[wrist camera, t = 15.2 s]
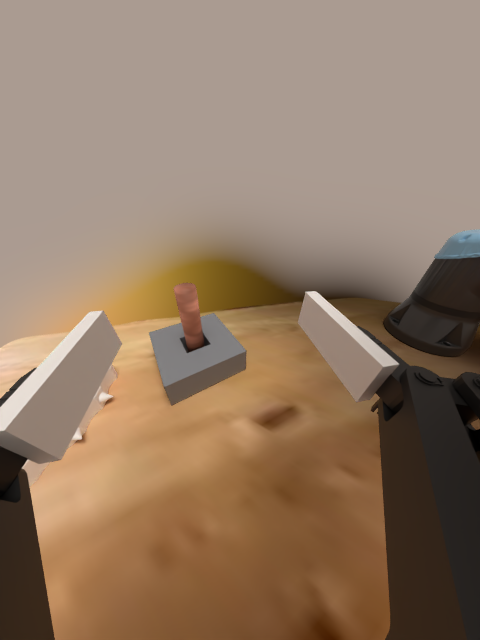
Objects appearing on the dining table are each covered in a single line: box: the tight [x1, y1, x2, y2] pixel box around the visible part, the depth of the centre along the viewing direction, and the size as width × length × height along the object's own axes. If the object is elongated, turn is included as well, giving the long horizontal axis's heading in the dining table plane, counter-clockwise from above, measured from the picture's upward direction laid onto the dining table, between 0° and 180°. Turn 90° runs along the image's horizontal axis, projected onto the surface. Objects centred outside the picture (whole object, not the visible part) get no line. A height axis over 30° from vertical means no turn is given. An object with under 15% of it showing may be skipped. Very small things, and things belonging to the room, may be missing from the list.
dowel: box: [174, 283, 205, 353], centre depth 31 cm, size 3×3×16 cm
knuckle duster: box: [22, 364, 118, 487], centre depth 25 cm, size 3×18×15 cm
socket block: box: [149, 313, 246, 405], centre depth 34 cm, size 14×14×5 cm
